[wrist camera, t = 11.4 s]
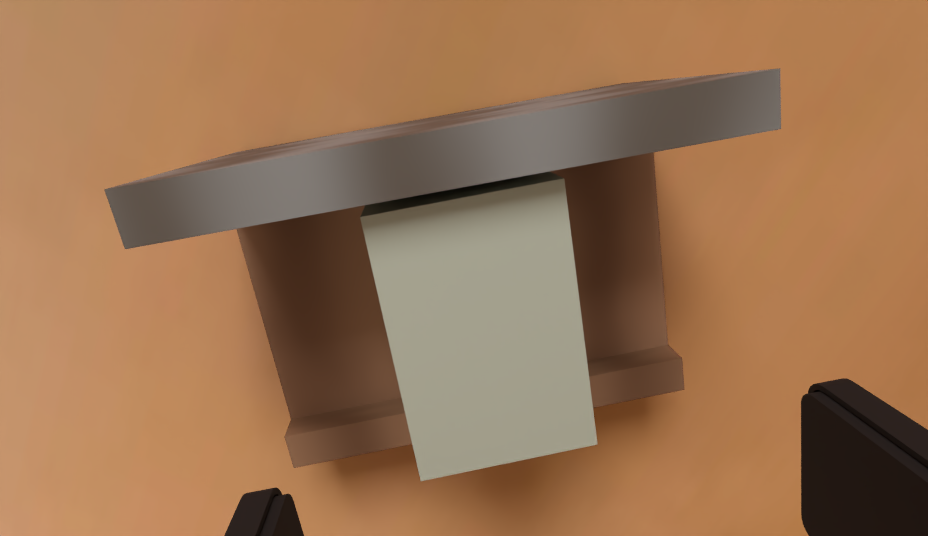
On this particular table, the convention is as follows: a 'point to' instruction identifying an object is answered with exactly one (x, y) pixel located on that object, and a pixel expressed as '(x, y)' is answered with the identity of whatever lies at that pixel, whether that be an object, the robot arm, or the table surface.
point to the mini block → (483, 322)
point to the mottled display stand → (433, 170)
